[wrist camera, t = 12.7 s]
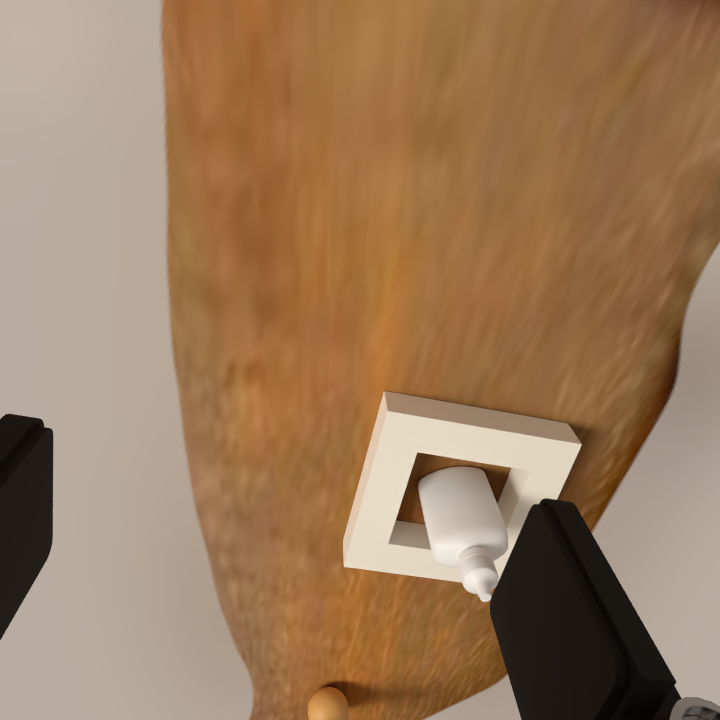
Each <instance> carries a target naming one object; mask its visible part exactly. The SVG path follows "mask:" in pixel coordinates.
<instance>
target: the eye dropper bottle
mask: <svg viewBox="0 0 720 720" xmlns="http://www.w3.org/2000/svg"><path fill="white" fill-rule="evenodd" d="M418 490H419V496H420V501H421V506H422V510H423V515H424V520H425V524H426V529H427V533H428V538H429V542H430V547H431V551H432V555H433V558H434V559H435V561H436V562H437V563H439V564H441V565H444V566H447V567H452V568H457V569H459V571H460V575H461V579H462V583H463V586H464V588H465V589H466V590H467V591H469V592H471V593H474V594H478V596H479V597H480V599H481V601H483V602H487V601H489V600H490V599H491V590H492V589H494V588H495V586H496V585H497V583H498V579H499V577H498V573H497V570H496V568H495V565H494V562H493V561H495V560H496V559H498V558H500V557H501V556H502V555H504V554H505V552H506V551H507V549H508V534H507V529H506V526H505V524H504V521H503V518H502V516H501V513H500V510H499V508H498V505H497V503H496V500H495V497H494V495H493V492H492V490H491V487H490V485H489V482H488V479H487V477H486V475H485V473H484V471H483V470H481V469H479V468H474V467H464V466H460V467H450V468H445V469H441V470H438V471H435V472H433V473H431V474H429V475H427V476H425V477H423V478H422V479H421V480H420V481H419V484H418Z"/></svg>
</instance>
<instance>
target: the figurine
mask: <svg viewBox="0 0 720 720" xmlns="http://www.w3.org/2000/svg"><path fill="white" fill-rule="evenodd" d="M348 714H349V706H348V702H347V699H346V697H345V696H344V694H343V693H342V692H341V691H340V690H338V689H336V688H334V687H324V688H321V689H320V690H318V691H317V692H316V693H315V694H314V695H313V696H312V698H311V700H310V702H309V706H308V717H309V720H347V718H348Z"/></svg>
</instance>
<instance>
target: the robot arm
mask: <svg viewBox="0 0 720 720" xmlns="http://www.w3.org/2000/svg"><path fill="white" fill-rule="evenodd" d="M52 530H53V431H52V429H50V428H45V427H44V423H43V421H42V420H41V419H39V418H32V417H26V416H19V415H14V414H6V415H5V416H3V417H2V418H1V419H0V640H1V638H2V636H3V635H4V633H5V631H6V629H7V628H8V626H9V624H10V622H11V621H12V619H13V617H14V615H15V614H16V612H17V610H18V608H19V607H20V605H21V603H22V602H23V600H24V598H25V596H26V595H27V593H28V591H29V590H30V588H31V586H32V584H33V583H34V581H35V579H36V578H37V576H38V574H39V572H40V571H41V569H42V567H43V565H44V564H45V562H46V560H47V558H48V556H49V553H50V550H51V546H52V537H53V531H52ZM490 614H491V619H492V622H493V625H494V629H495V632H496V635H497V639H498V642H499V645H500V649H501V652H502V655H503V659H504V662H505V665H506V669H507V672H508V676H509V679H510V682H511V685H512V689H513V692H514V696H515V699H516V702H517V705H518V709H519V712H520V716H521V719H522V720H720V706H718V705H716V704H714V703H713V702H711V701H707V700H704V699H701V698H698V697H685V698H683V699H681V697H680V695H679V693H678V692H677V690H676V688H675V686H674V685H675V683H676V680H675V679H674V677H673V675H672V674H671V672H670V670H669V668H668V666H667V665H666V663H665V661H664V659H663V658H662V656H661V654H660V652H659V651H658V649H657V647H656V646H655V644H654V642H653V640H652V638H651V637H650V635H649V633H648V631H647V630H646V628H645V626H644V624H643V623H642V621H641V619H640V617H639V616H638V614H637V612H636V611H635V609H634V607H633V606H632V603H631V602H630V600H629V598H628V596H627V595H626V593H625V591H624V590H623V588H622V586H621V584H620V583H619V581H618V579H617V577H616V575H615V574H614V572H613V570H612V568H611V567H610V565H609V563H608V561H607V560H606V558H605V556H604V555H603V553H602V551H601V549H600V548H599V546H598V544H597V542H596V540H595V539H594V537H593V535H592V533H591V532H590V530H589V528H588V526H587V525H586V523H585V521H584V519H583V518H582V516H581V514H580V512H579V511H578V509H577V507H576V506H575V505H574V503H571V502H567V501H561V500H554V499H548V498H545V499H542V500H541V501H540V503H539V504H534V505H532V507H531V508H530V510H529V512H528V515H527V517H526V519H525V522H524V524H523V526H522V529H521V531H520V533H519V535H518V538H517V540H516V542H515V545H514V547H513V549H512V552H511V554H510V556H509V558H508V561H507V563H506V565H505V568H504V570H503V572H502V575H501V577H500V579H499V581H498V584H497V586H496V588H495V591H494V593H493V595H492V598H491V603H490Z"/></svg>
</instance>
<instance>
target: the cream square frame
mask: <svg viewBox="0 0 720 720" xmlns="http://www.w3.org/2000/svg"><path fill="white" fill-rule="evenodd" d="M581 446H582V444H581V442H580V441H579V439H578V438H577V436H576V435H575V434H574V432H573V431H572V429H571V428H570V426H569V425H568V423H563V422H557V421H552V420H546V419H541V418H535V417H529V416H524V415H518V414H512V413H507V412H501V411H495V410H490V409H484V408H478V407H473V406H467V405H461V404H456V403H450V402H444V401H439V400H433V399H427V398H422V397H416V396H410V395H405V394H399V393H393V392H388V391H384V394H383V397H382V401H381V405H380V408H379V412H378V415H377V419H376V423H375V426H374V430H373V434H372V437H371V441H370V445H369V448H368V452H367V455H366V459H365V463H364V466H363V470H362V474H361V477H360V481H359V485H358V488H357V492H356V495H355V499H354V503H353V506H352V510H351V514H350V517H349V521H348V525H347V528H346V532H345V535H344V539H343V555H344V567H350V568H358V569H365V570H373V571H380V572H388V573H395V574H403V575H410V576H418V577H425V578H433V579H440V580H448V581H455V582H462V579H461V575H460V571H459V569H457V568H452V567H447V566H444V565H441V564H439V563H437V562H436V561H435V559H434V558H433V555H432V551H431V547H430V542H429V538H428V533H427V529H426V525H424V524H418V523H411V522H404V521H397V520H396V518H397V515H398V511H399V508H400V505H401V502H402V499H403V496H404V492H405V489H406V486H407V483H408V480H409V477H410V474H411V470H412V467H413V464H414V461H415V458H416V455H417V452H419V453H425V454H431V455H438V456H444V457H450V458H456V459H462V460H468V461H474V462H480V463H487V464H493V465H499V466H505V467H511V471H510V473H509V476H508V478H507V481H506V483H505V486H504V488H503V491H502V493H501V496H500V498H499V500H498V503H497V505H498V508H499V510H500V513H501V516H502V518H503V521H504V524H505V526H506V529H507V534H508V549H507V551H506V552H505V554H504V555H502V556H501V557H500V558H498V559H496V560H495V561H493V562H494V565H495V568H496V570H497V573H498V577H499V579H500V577H501V575H502V572H503V570H504V568H505V565H506V563H507V561H508V558H509V556H510V554H511V552H512V549H513V547H514V545H515V542H516V540H517V538H518V535H519V533H520V531H521V529H522V526H523V524H524V522H525V519H526V517H527V515H528V512H529V510H530V508H531V507H532V505H534V504H539V503H540V501H541V500H542V499H545V498H548V499H554V500H557V498H558V496H559V494H560V492H561V490H562V487H563V485H564V483H565V481H566V479H567V476H568V474H569V472H570V470H571V468H572V465H573V463H574V461H575V459H576V457H577V455H578V452H579V450H580V448H581ZM499 579H498V581H499ZM497 584H498V583H497ZM496 586H497V585H496ZM496 586H495V587H496Z"/></svg>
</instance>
